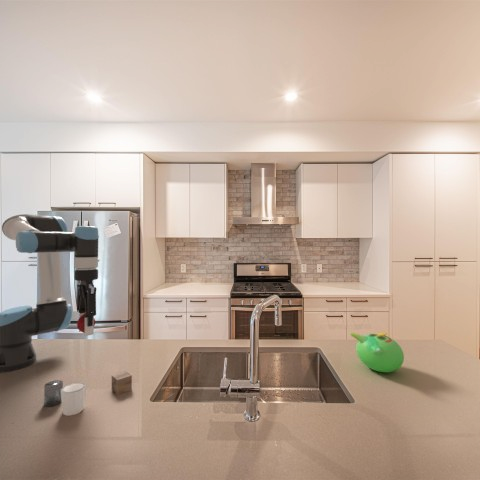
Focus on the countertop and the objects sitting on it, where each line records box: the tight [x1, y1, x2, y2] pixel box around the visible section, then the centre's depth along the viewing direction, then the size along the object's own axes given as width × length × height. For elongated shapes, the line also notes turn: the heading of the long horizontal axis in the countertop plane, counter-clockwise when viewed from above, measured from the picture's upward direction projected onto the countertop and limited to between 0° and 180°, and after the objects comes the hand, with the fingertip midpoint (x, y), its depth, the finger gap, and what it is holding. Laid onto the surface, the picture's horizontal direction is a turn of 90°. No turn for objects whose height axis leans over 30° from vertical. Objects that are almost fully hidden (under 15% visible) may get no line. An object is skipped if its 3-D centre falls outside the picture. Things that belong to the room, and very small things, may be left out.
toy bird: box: [349, 332, 405, 373], centre depth 117 cm, size 18×17×15 cm
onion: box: [76, 312, 96, 334], centre depth 104 cm, size 6×6×8 cm
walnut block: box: [111, 370, 133, 396], centre depth 101 cm, size 5×5×5 cm
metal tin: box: [43, 379, 64, 408], centre depth 92 cm, size 5×5×6 cm
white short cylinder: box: [61, 381, 87, 417], centre depth 88 cm, size 7×7×7 cm
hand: (86, 332), depth 104 cm, fingers closed on onion, 6 cm apart
